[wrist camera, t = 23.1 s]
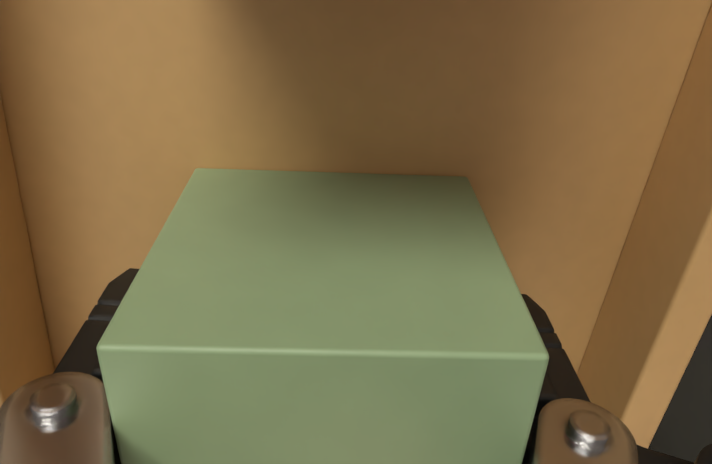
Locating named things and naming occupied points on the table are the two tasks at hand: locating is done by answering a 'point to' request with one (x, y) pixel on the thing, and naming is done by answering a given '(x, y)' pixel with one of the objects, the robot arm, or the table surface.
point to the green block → (323, 327)
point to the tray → (374, 151)
